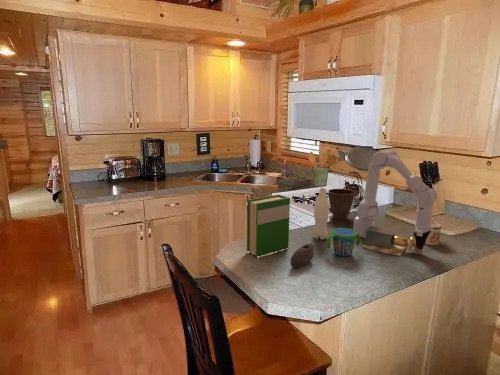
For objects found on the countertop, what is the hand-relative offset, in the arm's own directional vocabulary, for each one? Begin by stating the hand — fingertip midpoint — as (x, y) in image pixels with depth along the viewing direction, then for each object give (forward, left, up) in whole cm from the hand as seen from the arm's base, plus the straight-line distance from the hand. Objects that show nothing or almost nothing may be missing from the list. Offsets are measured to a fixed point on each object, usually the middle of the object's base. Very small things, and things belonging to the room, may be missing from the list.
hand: (420, 247), depth 150 cm
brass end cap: (-6, 0, -2) cm, 7 cm away
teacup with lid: (+1, +20, -4) cm, 20 cm away
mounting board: (-15, 0, -3) cm, 15 cm away
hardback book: (-56, -36, -4) cm, 66 cm away
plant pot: (-48, +30, -4) cm, 56 cm away
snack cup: (-28, -19, -4) cm, 34 cm away
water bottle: (-44, -7, -4) cm, 44 cm away
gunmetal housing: (-17, 0, -3) cm, 17 cm away
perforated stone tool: (-38, -39, -4) cm, 54 cm away
